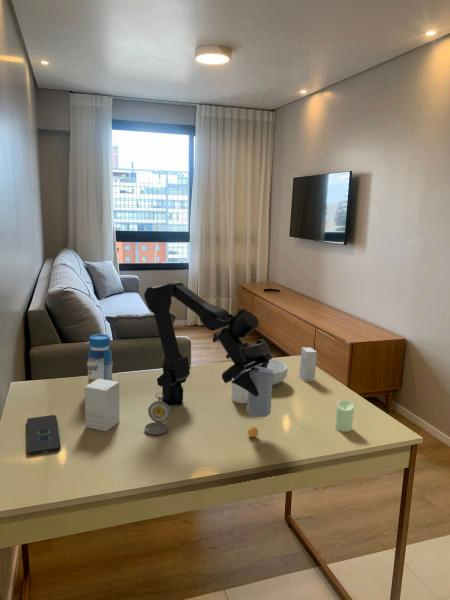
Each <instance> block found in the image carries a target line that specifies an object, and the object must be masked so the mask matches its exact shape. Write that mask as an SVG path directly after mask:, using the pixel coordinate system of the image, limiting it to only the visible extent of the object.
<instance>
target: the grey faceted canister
mask: <svg viewBox="0 0 450 600" xmlns="http://www.w3.org/2000/svg"><path fill="white" fill-rule="evenodd" d="M250 378H251V380H252V382H253V383H254V385H255V387H256V389H257V391H258V393H259V395H258V396H255V395H253V394H251V393H250V392H248V397H247V403H246V412H247V415H249V416H252V417H255V418H266V417H268V416H270V415H271V408H272V397H273V396H272V395H273V394H272V393H273V386H272V384H273V371H272V370H271V369H269V368H265V367H254V368H251V369H250Z"/></svg>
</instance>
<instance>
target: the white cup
mask: <svg viewBox="0 0 450 600" xmlns="http://www.w3.org/2000/svg"><path fill="white" fill-rule="evenodd" d="M248 370H250V369H248ZM248 370H246V371H248ZM233 380H234V379H233V378H232V381H233ZM232 381H230V382H232ZM247 397H248V391H247V390H245V389H244V388H242V387H240V386H238V385H236V384H235V383H233V384H232V383H231V400H232V401H233V402H234V403H237V404H247Z"/></svg>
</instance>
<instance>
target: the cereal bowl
mask: <svg viewBox="0 0 450 600" xmlns="http://www.w3.org/2000/svg"><path fill="white" fill-rule="evenodd" d="M267 368H269V369H271V370H272V371H273V384H272V387H273V386H274V385H277V384H279V383H281V382H283V381H284V380H285V378H286V377H287V376H288V375H287V374H288V369H289V368H288V364H287V363H285V362H283V361H281V360H279V359H274V358H272V359H270V360H269V363H268V366H267ZM250 369H251V368H250Z"/></svg>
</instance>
